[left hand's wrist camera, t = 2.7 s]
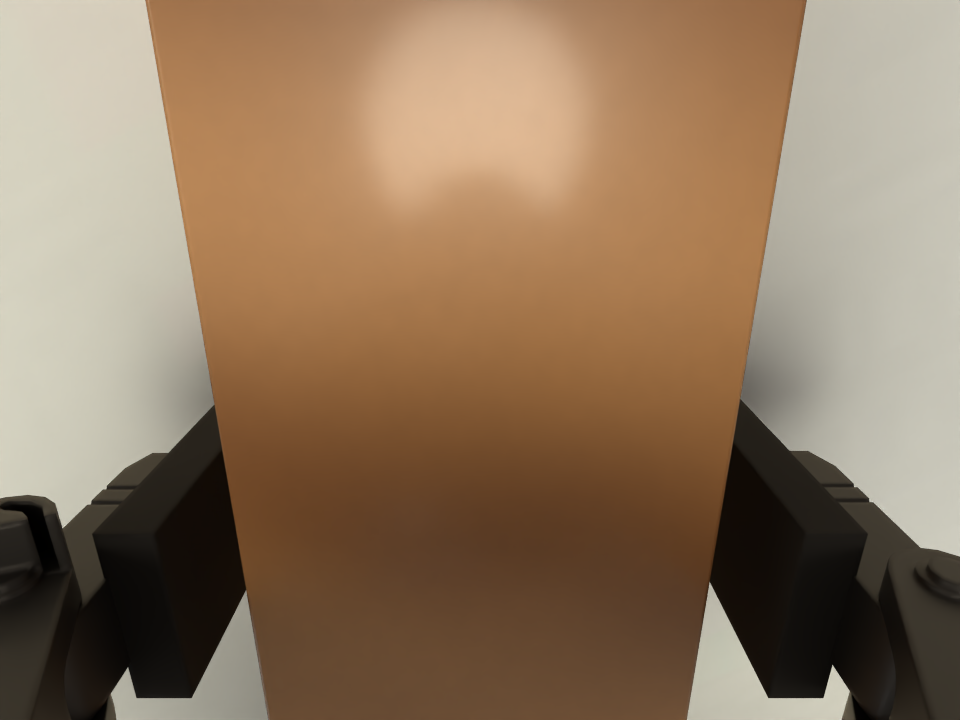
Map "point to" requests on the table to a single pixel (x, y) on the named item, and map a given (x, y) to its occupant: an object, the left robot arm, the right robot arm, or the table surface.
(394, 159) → the bar
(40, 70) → the table surface
